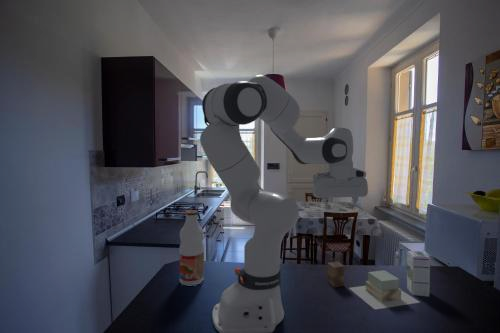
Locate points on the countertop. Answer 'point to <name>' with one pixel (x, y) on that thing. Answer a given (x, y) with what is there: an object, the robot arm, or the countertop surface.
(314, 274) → the countertop surface
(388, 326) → the countertop surface
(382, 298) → the tower base
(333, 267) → the walnut block
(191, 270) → the fruit juice
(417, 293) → the syrup box
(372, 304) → the mat
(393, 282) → the tower top
